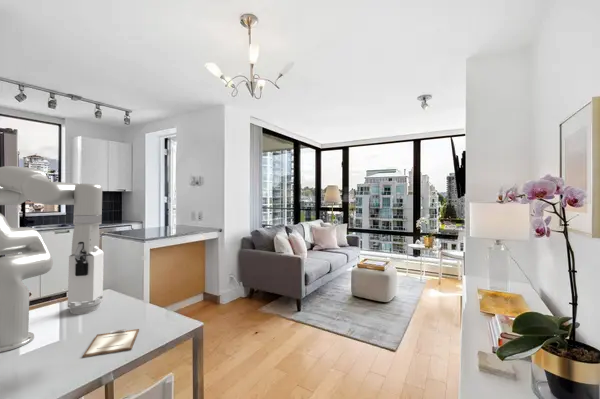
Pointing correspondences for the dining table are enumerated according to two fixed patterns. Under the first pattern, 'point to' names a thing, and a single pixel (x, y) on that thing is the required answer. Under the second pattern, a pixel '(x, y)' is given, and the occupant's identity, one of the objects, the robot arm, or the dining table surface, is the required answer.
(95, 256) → the milk carton
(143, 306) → the dining table surface
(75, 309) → the flag stand
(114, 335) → the clipboard
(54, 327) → the dining table surface
